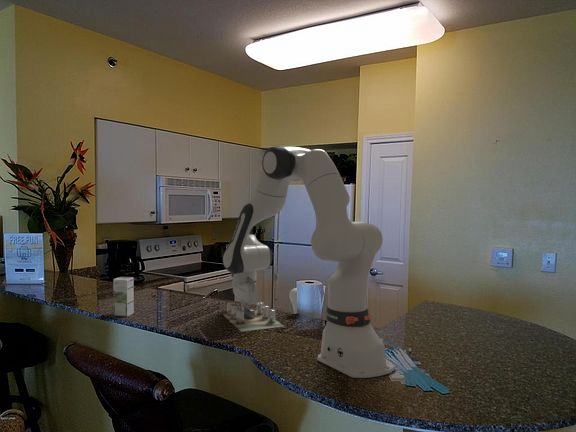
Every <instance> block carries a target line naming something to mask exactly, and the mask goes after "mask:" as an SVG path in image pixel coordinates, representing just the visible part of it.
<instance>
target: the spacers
mask: <svg viewBox="0 0 576 432" xmlns="http://www.w3.org/2000/svg"><path fill="white" fill-rule="evenodd" d="M256 310H257V315H262V319H268V323H271V324H273V323H275V320H277V319H276V315H277V314H276V311H277V310H276V309H273V308H270V305H265V302H264V301H258V302H257V304H256ZM226 313H227V316H231V320H236V324H238V325H242V324H244V311H243V310H242V309H240V306H238V305H237V306H236V305H235V302H227V304H226Z"/></svg>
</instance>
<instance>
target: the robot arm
mask: <svg viewBox="0 0 576 432" xmlns="http://www.w3.org/2000/svg"><path fill="white" fill-rule="evenodd" d="M261 162H262V163H261V165H262V168H261V170H260V173H259V175H258V178H257V181H256V182H257V183H256V186H255V190H254V193H253V196H252V197H251V199H250V200H249V202H248V203H246V204H245V205H244V206H243V207H242V209H241V211H240V214H239V216H238V218H237V220H236V221H237V222H236V224H235V227H234V230H233V233H232V234H231V237H230V240H229V243H228V245H227V247H226V248H225V250H224V252H223V255H222V265H223V267H224V268H225V270H226V271H228V272H229V273H231V274H230V275H231V277H230V278H232V292H233V295H234V296H236V298H237V297H238V299H240V300H239V301H240V304H241V310H244V309H247V308H249V306H250V305H257V302H259V296H258V295H259V294H258V285H257V284H256V283H255V282H256V281H257V279H258V277H257V271H264V270H268V268H269V267H271V264H272V262H273V252H272V250H271V248H270V247H269V246H268V245H267V244H264V243H262V242H260V241H259V240H258V239H257V237H256V235H255V234H252V233H251V230H252V228H253V227H255V225H256V224H259V223H260V222H262V221H264V220H266V219H269V218H272V217H274V216H276V215H277V214H279V213H280V212H282V210H283V208H284V206H285V203H286V200H287V197H288V196H287V195H288V190H289V185H290V184H291V182H301V181H302V182H303V185H304V186H305V190H306V192H307V195H308V196H309V197H308V198H309V199H310V202H311V204H312V207H313V211H314V214H315V215H314V216H315V229H314V231H313V233H312V235H311V239H310V246H311V249H312V252H313V253H314V255H315V256H316V257H317V258H318V259H319V260H322V261H327V262H332V263H333V262H334V263H337V266H336V269H335V270H334V272H332V273H333V274H331V276H330V277H329V280H328V284H327V285H328V287H327V288H328V292H327V298H328V299H327V306H326V311H325V315H326V317H325V318H326V320H327V321H326V324H325V326H324V328H323V330H322V336H321V347H320V353H319V354H318V355H317V356H316V357H317V358H316V359H317V361H318V362H320V363H322V364H324V365H327V366H328V367H330V368H332V369H334V370H336V371H338V372H340V373H342V374H344V375H346V376H348V377H351V378H353V379H354V378H355V379H367V378H375V377H381V376H384V375H385V376H386V375H387V374H391V373H393V372H394V371H396V366H395V365H394V363H392V362H391V361H390V360H389V359H387V353H386V346H385V341H384V339H383V338H380V337H379V336H378V333H377V332H376V331H375V329H374V328H373V326H372V324H371V322H372V321H371V320H373V318H371V317H373V315H371V314H370V312H369V309H368V307H367V305H368V304H367V302H368V284H369V282H368V281H369V276H370V272H371V269H372V265H373V262H374V260H375V257H376V255H377V253H378V252H379V251H380V249H381V247H382V246H383V240H384V239H383V234H382V231H381V230H380V229H379V227H378V226H377V225H375V224H372V223H370V222H366V221H351V220H350V219H349V215H348V206H349V203H350V199H351V197H350V194H349V192H348V189H347V188H346V186H345V184H344V181H343V179H342V176H341V174H340V172H339V170H338V168H337V167H336V165H335V163H334V161H333V160H332V158H331V157H330V155H329V154H328V153H327V152H326V151H325V150H324V149H320V148H314V149H313V148H306V147H305V148H304V147H299V146H291V145H290V146H289V145H288V146H282V145H276V146H271V147H269V148H268V149H266V151H265V152H264V154H263V156H262V161H261ZM392 371H393V372H392Z"/></svg>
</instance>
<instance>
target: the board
mask: <svg viewBox="0 0 576 432" xmlns="http://www.w3.org/2000/svg"><path fill="white" fill-rule="evenodd" d="M222 315H223V317H225V318H226V320H228V321H229V322H230V323H231V324H232V325H233V326H234V327H235V328H236V329H237V330H239V331H240V333H241V332H250V331H258V330H265V329H273V328H282V327H285V325H284V324H282V323H281V322H279V321H278V320H277V319H275V323H273V324H271V323H268V319H262V315H257V309H255V318H254V319H244V324H242V325H238V324H236V320H231V316H227V312H226V313H222Z"/></svg>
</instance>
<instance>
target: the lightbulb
mask: <svg viewBox="0 0 576 432" xmlns="http://www.w3.org/2000/svg"><path fill="white" fill-rule="evenodd" d="M297 288H298V287H294V288H293V289H291V290H290V292H289V295H288V297H289V300H290V302H291V304H292V309H293V315H294V314H296V313H297Z"/></svg>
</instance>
